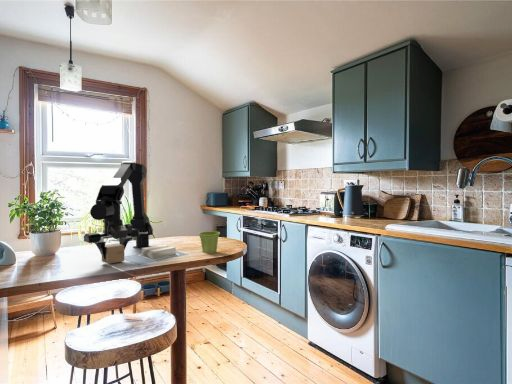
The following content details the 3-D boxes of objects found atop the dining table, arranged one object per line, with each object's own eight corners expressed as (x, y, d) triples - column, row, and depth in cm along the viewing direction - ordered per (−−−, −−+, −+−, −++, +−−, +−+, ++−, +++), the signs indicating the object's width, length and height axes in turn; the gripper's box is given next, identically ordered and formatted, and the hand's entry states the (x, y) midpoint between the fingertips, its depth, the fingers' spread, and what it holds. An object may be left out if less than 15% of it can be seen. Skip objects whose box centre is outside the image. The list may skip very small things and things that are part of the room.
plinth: (141, 255, 130) (141, 248, 130) (163, 251, 137) (163, 244, 137) (153, 259, 123) (153, 251, 123) (175, 254, 131) (175, 247, 130)
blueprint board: (119, 258, 127) (118, 257, 126) (166, 250, 143) (166, 248, 143) (138, 266, 115) (138, 264, 115) (188, 255, 131) (188, 254, 131)
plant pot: (206, 256, 131) (205, 235, 131) (194, 252, 138) (194, 232, 138) (224, 252, 137) (224, 233, 137) (212, 249, 144) (212, 230, 144)
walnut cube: (101, 261, 118) (101, 245, 118) (117, 258, 123) (117, 243, 122) (108, 263, 114) (107, 247, 114) (124, 260, 119) (124, 245, 118)
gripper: (94, 220, 106) (95, 266, 106) (145, 216, 119) (146, 256, 120) (82, 218, 113) (83, 260, 114) (132, 214, 127) (133, 252, 127)
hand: (113, 257), depth 118 cm, fingers closed on walnut cube, 6 cm apart
